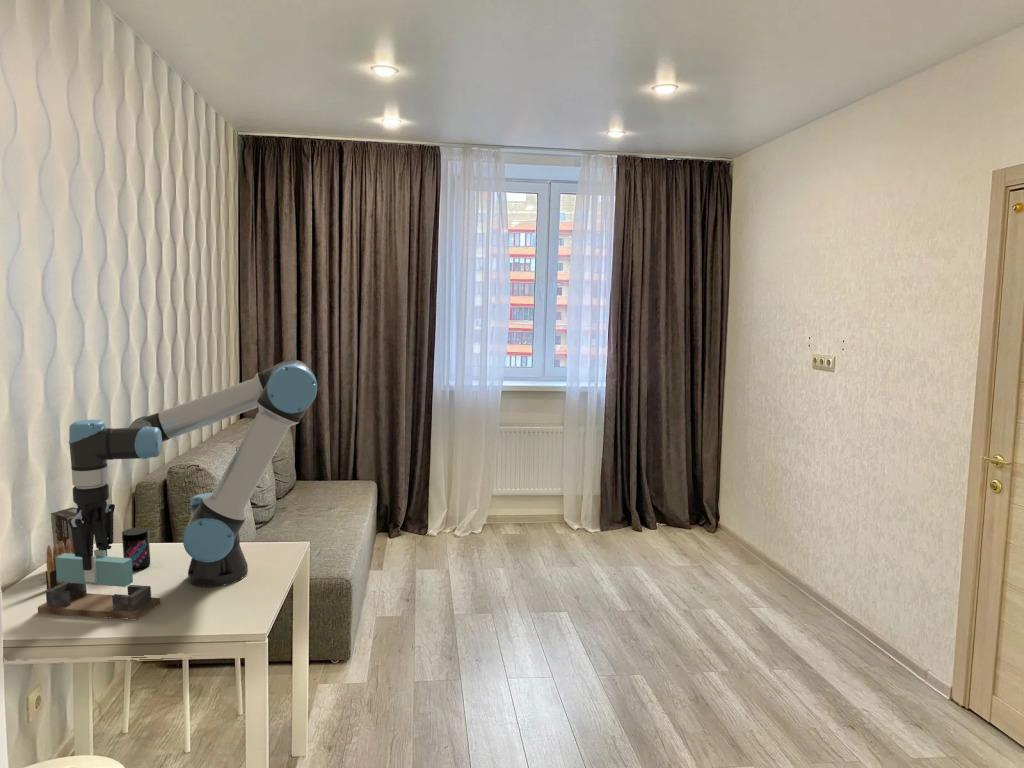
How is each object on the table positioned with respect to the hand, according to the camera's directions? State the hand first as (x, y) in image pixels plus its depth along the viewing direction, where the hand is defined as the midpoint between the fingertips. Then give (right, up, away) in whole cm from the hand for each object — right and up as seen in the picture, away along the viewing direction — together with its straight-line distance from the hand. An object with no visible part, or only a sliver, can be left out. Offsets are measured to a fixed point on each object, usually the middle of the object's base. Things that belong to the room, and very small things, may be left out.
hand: (96, 578), depth 179 cm
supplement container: (-4, -4, +28) cm, 28 cm away
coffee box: (-21, -4, +27) cm, 35 cm away
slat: (0, -1, 0) cm, 1 cm away
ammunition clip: (-17, -6, +16) cm, 24 cm away
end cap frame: (0, -8, +1) cm, 8 cm away
